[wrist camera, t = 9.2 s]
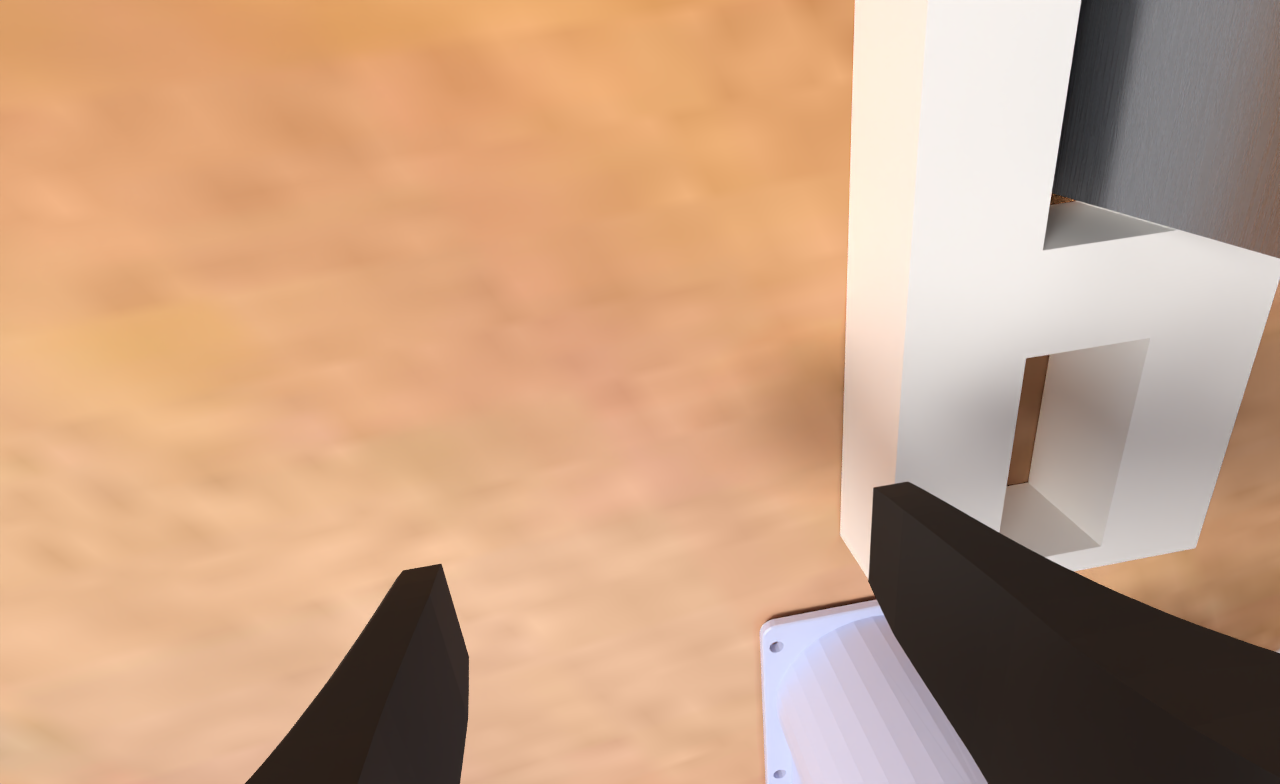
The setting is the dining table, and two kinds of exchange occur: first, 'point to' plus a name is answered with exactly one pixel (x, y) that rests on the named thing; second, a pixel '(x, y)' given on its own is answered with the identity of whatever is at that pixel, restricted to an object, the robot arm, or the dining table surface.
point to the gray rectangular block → (1177, 116)
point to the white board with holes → (1024, 301)
